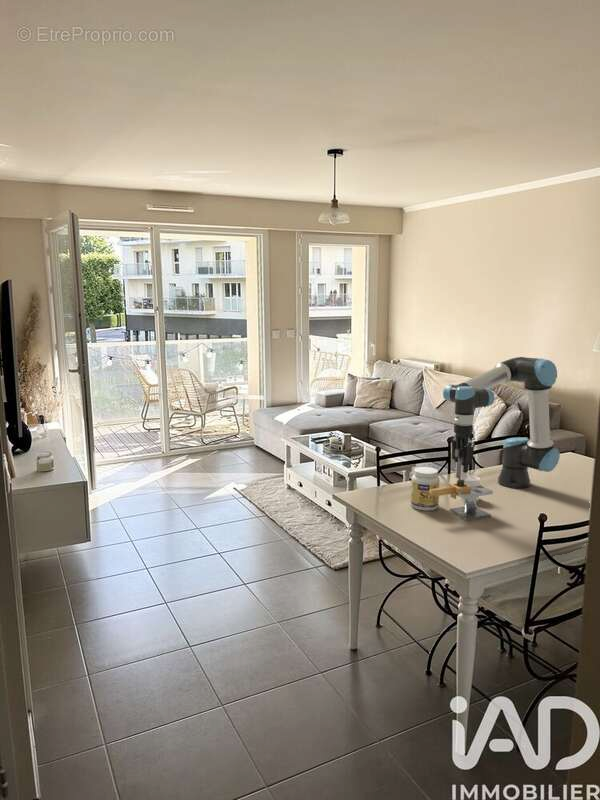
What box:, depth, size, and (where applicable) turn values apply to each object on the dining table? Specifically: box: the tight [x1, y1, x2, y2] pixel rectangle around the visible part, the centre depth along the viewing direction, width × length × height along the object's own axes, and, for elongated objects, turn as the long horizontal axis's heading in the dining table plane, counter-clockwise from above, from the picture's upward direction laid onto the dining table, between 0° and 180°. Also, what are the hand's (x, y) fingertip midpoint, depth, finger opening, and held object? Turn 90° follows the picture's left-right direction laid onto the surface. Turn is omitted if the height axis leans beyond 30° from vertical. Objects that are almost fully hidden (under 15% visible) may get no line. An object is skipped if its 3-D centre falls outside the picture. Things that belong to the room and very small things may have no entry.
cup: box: [455, 474, 481, 502], centre depth 273 cm, size 8×12×10 cm
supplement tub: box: [410, 466, 440, 512], centre depth 261 cm, size 12×12×17 cm
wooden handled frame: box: [429, 482, 471, 500], centre depth 248 cm, size 17×6×5 cm, turn 112°
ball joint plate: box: [445, 482, 494, 522], centre depth 253 cm, size 15×12×12 cm
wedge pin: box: [455, 448, 464, 487], centre depth 248 cm, size 6×3×16 cm, turn 112°
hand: (461, 478), depth 249 cm, fingers closed on wedge pin, 3 cm apart
